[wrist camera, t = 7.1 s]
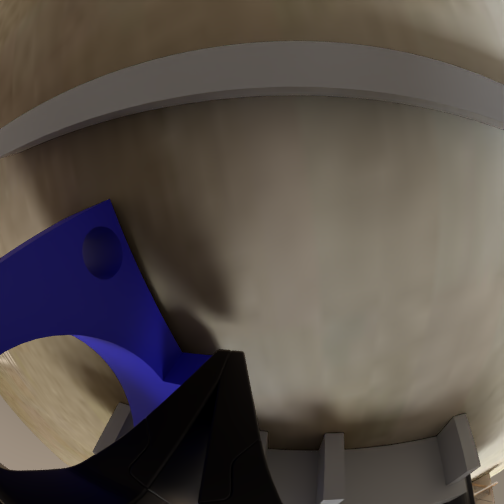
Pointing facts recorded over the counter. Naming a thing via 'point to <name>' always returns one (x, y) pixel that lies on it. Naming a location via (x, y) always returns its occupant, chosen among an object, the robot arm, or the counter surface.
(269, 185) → the counter surface
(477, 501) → the architectural model
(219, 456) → the robot arm
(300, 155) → the counter surface
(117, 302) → the cable clip
